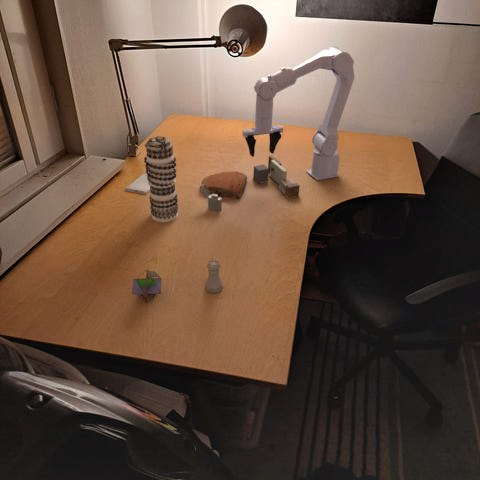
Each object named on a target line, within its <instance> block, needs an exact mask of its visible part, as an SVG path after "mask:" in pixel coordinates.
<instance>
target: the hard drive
mask: <svg viewBox="0 0 480 480" xmlns="http://www.w3.org/2000/svg"><path fill="white" fill-rule="evenodd" d="M147 178H148V177H147V173H142V174H141V175H139V177H138V178H137V179H135V180H134V181H132V182H131V183H130V184H129V185H128V186H126V187H125V191H126V192H127V191H128V192H132V193H138V194H142V195H143V194H144V195H148V194H150V185H149V184H148V180H147Z"/></svg>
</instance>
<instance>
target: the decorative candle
mask: <svg viewBox="0 0 480 480" xmlns="http://www.w3.org/2000/svg"><path fill="white" fill-rule="evenodd" d="M173 146H174V143H173V141H171V140H170V139H169V138H168V137H166V136H153V137H150V138H149V139H148V140H147V142H145V143H144V148H145V149H146V150H145V151H146V154H145V157H144V158H143V159H144V160H143V161H144V163H145V164H144V166H145V174H147V177H148V178H147V180H148V184H149V185H150V192H149V197H148V199H149V203H150V207H149V208H150V213H151V214H150V215H151V219H153V221H155V222H159V223H160V222H161V223H169V222H172V221H175V220H176V219H177V218H178V217H179V204H178V194H177V190H176V183H177V179H176V178H177V174H176V173H177V168H176V167H177V158H176V157H175V155H174V151H173Z"/></svg>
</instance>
